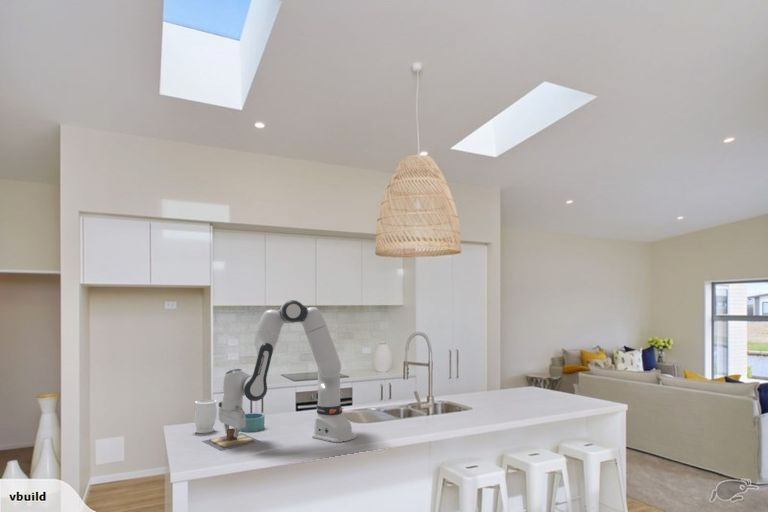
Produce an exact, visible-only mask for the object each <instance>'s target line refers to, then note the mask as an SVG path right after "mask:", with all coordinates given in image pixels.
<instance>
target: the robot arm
mask: <svg viewBox="0 0 768 512" xmlns="http://www.w3.org/2000/svg"><path fill="white" fill-rule="evenodd" d="M295 323H300V324H301V325H302V327H303V330H304V332H305V335H306V337H307V340H308V344H309V346H310V348H311V352H312V355H313V357H314V360H315V363H316V366H317V405H316V414H317V415H316V417H315V420H314V430H313V434H312V435H311V436H312V439H316V440H321V441H325V442H326V441H327V442H330V441H331V443H343V441H344V442H347V441H351V440H354V439H356V438H357V437H358V435H357V434H356V433H354V432H352V431H353V430H352V424H351V422H350V421H349V420H348V419H347V418H346V416H345V415H344V413H343V410H344V407H342V404H341V375H340V374H341V373H340V372H341V370H342V362H341V360H340V358H339V355H338V352H337V349H336V347H335V344H334V342H333V339H332V336H331V334H330V331H329V327H328V326H327V323H326V320H325V318H324V317H323V314H322V312H321V311H320V310H319V308H318V307H315V306H311V307H306V306H305V305H303V304H302V303H301V302H300V301H298V300H294V299H291V300H290V299H289V300H287V301H285V302H284V303H283V304H282V305H281V306H280V307H279V308H278V309H277V310H276V309H267V310H266V311H264V312H263V314H262V316H261V318H260V321H259V323H258V324H257V329H256V332H255V336H254V346H255V350H256V361H255V363H254V365H255V366H254V368H253V372H252V373H249V372H246V371H244V370H243V369H241V368H234V369H230V370H228V371H227V372H225V374H224V378H223V397H222V400H221V401H219V402H218V407H219V408H218V420H219V422H220V423H221V424H223V426H224V429H225V430H224V432H225V434H226V435H227V429H230V427H232V428H235V433H234V435H233V436H234V437H238V436H239V433H240V432H241V431H240V429H243V428H245V426H246V417H245V414H246V412H245V411H244V409H243V400H244V399H243V398H244V396H245V398H246V399H248V400H249V401H251V402H257V401H261V400H262V399H264V397H265V396H266V395H267V392H268V385H267V377H268V372H269V368H270V364H271V360H272V357H273V356H272V355H273V354H274V351H275V349H276V346H277V343H278V340H279V337H280V335H281V330H282V327H283V326H284V325H285V324H295Z"/></svg>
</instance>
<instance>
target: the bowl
mask: <svg viewBox="0 0 768 512" xmlns="http://www.w3.org/2000/svg"><path fill="white" fill-rule="evenodd" d="M245 417H246V426H245V428H243V429H240V431H239V432H244V433H245V432H246V433H249V432H258V431H261V430H263V429H265V414H263V413H262V412H261V413H260V412H259V413H258V412H251V413H245Z"/></svg>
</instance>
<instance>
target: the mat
mask: <svg viewBox="0 0 768 512" xmlns="http://www.w3.org/2000/svg"><path fill="white" fill-rule="evenodd" d="M239 433H240V434H242V435H244V436H247V437H249V438H251V439H254V442H250V443H245V444H241V445H236V446H232V447H227V448H222V447H220V446H218V445H216V444H214V443H212V442H210V441H209V439H205V440H201V442H202V443H204V444H206V445H208V446H210V447H212V448H213V449H217V450H218V451H221V452H222V451H225V450H226V451H227V450H231V449H235V448H239V447H240V448H241V447H244V446H249V445H253V444H258V443H262V442H263V441H261V440H259V439H257V438H254V437H251V436H249V435H247V434H245V433H243V432H239Z"/></svg>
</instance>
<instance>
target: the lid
mask: <svg viewBox="0 0 768 512" xmlns="http://www.w3.org/2000/svg"><path fill="white" fill-rule="evenodd" d="M234 433H235V428H234V427H232V428H229V429H227V434H226V435H224V436H218V437H214V438H209V439H208V440H209V441H210V442H212V443H214V444H216V445H218V446H220V447H222V448H227V447H232V446H236V445H241V444H245V443H250V442H254V439H251V438H249V437H247V436H248V435H247V436H244V435H242V434H240V433H241V432H239V436H238V437H234V436H233V435H234Z"/></svg>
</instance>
